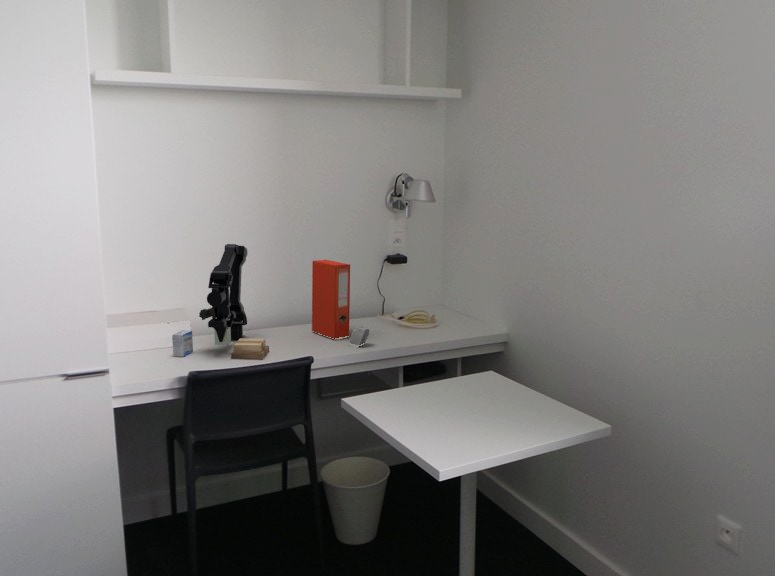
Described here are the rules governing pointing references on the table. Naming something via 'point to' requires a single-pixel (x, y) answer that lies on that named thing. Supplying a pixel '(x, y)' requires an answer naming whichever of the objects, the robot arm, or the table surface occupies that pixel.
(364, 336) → the mineral specimen
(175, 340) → the medicine box
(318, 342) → the table surface
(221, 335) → the robot arm
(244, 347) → the oak slab
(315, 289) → the file binder
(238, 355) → the walnut slab
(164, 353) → the table surface
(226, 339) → the sage block
